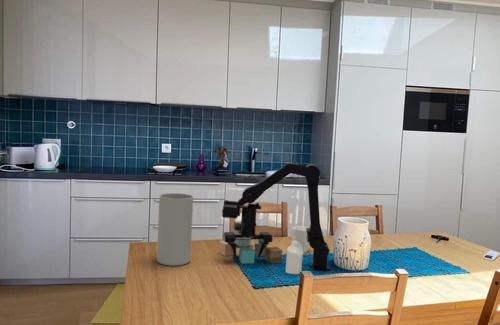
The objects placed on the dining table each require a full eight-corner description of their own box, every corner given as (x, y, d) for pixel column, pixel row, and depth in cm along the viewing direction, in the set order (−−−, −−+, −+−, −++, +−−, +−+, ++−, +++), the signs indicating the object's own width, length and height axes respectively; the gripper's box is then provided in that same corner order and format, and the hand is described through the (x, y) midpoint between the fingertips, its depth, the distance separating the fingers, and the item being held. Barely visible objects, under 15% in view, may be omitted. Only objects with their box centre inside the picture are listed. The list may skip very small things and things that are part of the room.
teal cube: (254, 263, 154) (254, 250, 154) (241, 263, 153) (242, 251, 152) (251, 259, 159) (251, 247, 158) (238, 259, 158) (239, 247, 157)
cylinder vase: (183, 268, 144) (186, 200, 142) (151, 264, 146) (153, 197, 145) (194, 258, 156) (197, 195, 154) (165, 254, 159) (167, 192, 157)
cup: (252, 244, 180) (253, 222, 180) (250, 249, 173) (251, 226, 172) (235, 242, 181) (236, 221, 180) (232, 247, 173) (233, 225, 173)
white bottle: (300, 237, 149) (306, 242, 144) (298, 269, 150) (304, 274, 145) (285, 238, 148) (290, 242, 142) (283, 269, 148) (288, 274, 143)
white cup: (309, 253, 171) (311, 231, 170) (291, 252, 171) (292, 229, 170) (307, 248, 178) (309, 226, 178) (290, 247, 179) (291, 225, 178)
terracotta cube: (235, 255, 163) (235, 243, 163) (224, 256, 161) (225, 244, 160) (229, 251, 168) (229, 240, 167) (218, 253, 165) (219, 241, 164)
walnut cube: (281, 262, 157) (282, 250, 157) (270, 263, 155) (271, 251, 155) (275, 258, 162) (276, 246, 161) (264, 259, 160) (265, 247, 159)
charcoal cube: (266, 256, 164) (266, 244, 163) (254, 255, 164) (254, 243, 164) (266, 252, 169) (266, 241, 168) (254, 252, 169) (255, 240, 169)
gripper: (266, 215, 165) (264, 252, 166) (221, 214, 160) (219, 252, 161) (273, 221, 154) (271, 260, 155) (226, 221, 149) (224, 261, 151)
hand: (246, 258), depth 156 cm, fingers open, 9 cm apart
